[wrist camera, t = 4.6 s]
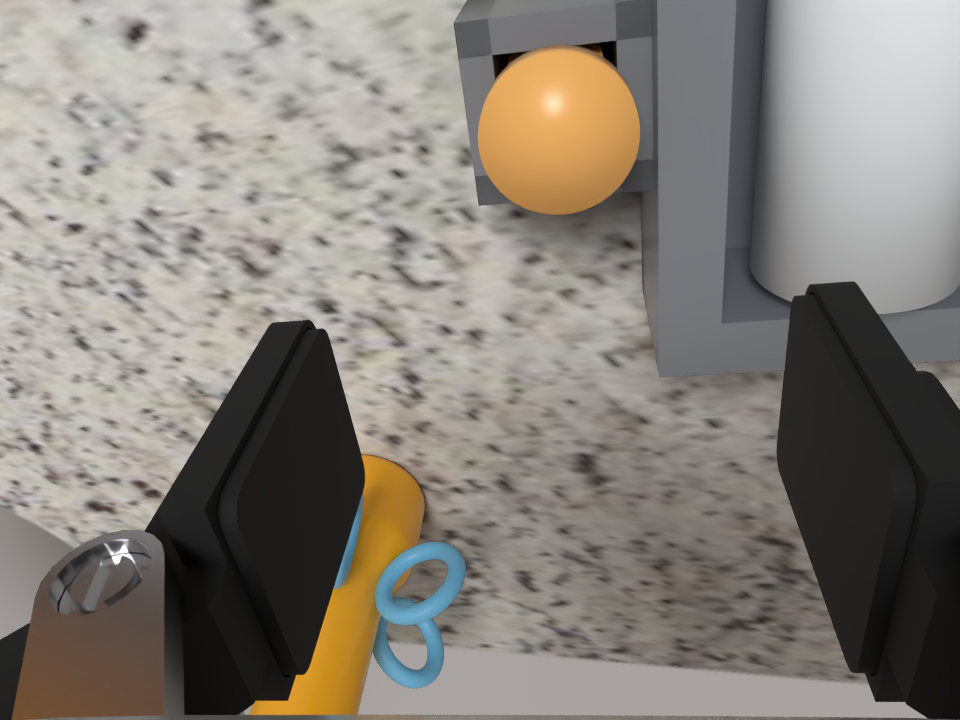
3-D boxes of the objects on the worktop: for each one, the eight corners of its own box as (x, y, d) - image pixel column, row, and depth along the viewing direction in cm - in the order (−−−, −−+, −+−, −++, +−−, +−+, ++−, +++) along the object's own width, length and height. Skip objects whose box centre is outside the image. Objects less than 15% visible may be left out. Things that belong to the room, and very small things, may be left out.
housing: (1131, -349, 21) (1335, -419, 15) (982, 263, 30) (1074, 354, 25) (442, -231, 23) (406, -254, 18) (508, 297, 33) (497, 386, 27)
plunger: (621, 1, 25) (638, 44, 20) (625, 135, 28) (641, 207, 22) (487, 17, 26) (467, 64, 20) (502, 147, 28) (487, 221, 23)
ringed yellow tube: (451, 591, 44) (408, 890, 31) (267, 557, 43) (149, 845, 31) (489, 423, 37) (453, 720, 24) (271, 382, 36) (122, 661, 24)
